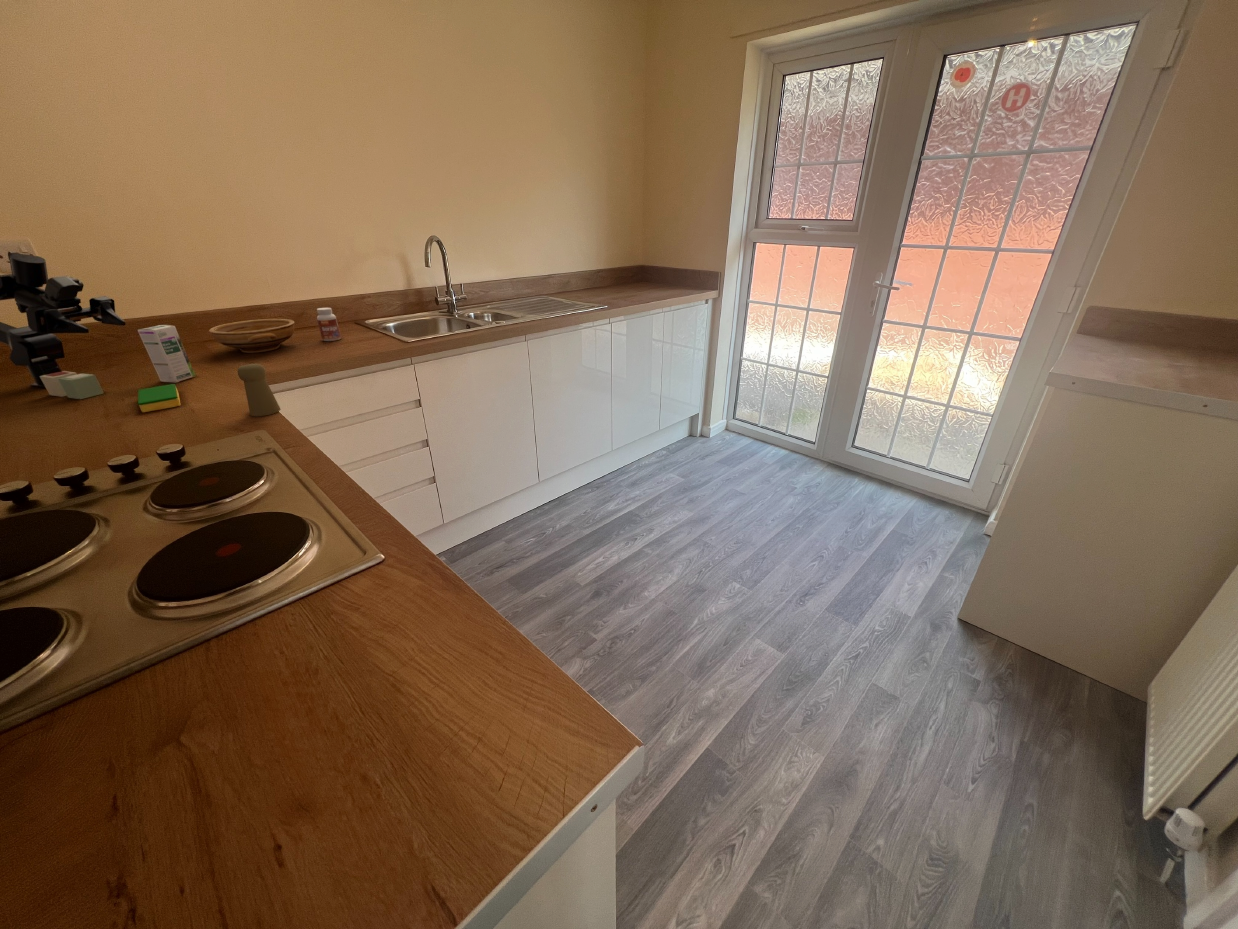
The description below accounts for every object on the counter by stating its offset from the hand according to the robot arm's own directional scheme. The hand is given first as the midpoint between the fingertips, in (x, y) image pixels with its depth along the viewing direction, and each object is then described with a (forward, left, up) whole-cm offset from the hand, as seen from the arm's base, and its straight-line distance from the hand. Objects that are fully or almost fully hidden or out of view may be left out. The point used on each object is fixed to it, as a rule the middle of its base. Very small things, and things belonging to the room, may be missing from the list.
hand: (106, 327), depth 128 cm
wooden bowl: (-6, +42, -16) cm, 45 cm away
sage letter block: (-3, -9, -16) cm, 18 cm away
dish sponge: (+22, -7, -16) cm, 28 cm away
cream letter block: (-10, -9, -16) cm, 21 cm away
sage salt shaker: (+54, -5, -16) cm, 56 cm away
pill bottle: (+7, +60, -16) cm, 62 cm away
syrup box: (+5, +8, -16) cm, 18 cm away
